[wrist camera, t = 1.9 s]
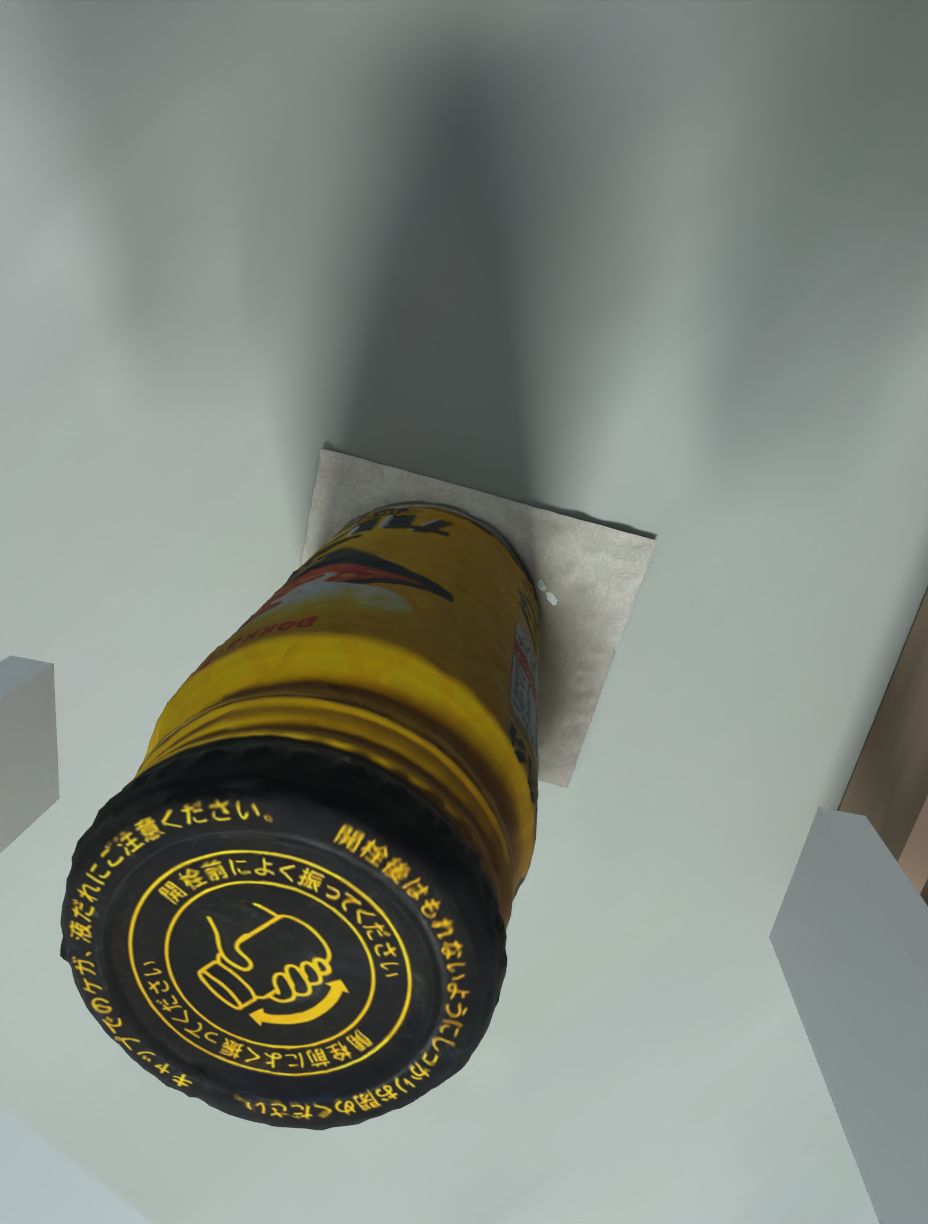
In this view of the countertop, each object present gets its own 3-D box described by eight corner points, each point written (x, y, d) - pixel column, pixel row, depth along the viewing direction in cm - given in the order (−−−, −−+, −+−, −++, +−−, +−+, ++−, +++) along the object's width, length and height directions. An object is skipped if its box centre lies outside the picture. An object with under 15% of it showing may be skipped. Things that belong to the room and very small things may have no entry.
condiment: (323, 446, 18) (-21, 626, 7) (656, 538, 18) (845, 864, 7) (276, 701, 21) (-29, 1128, 10) (567, 781, 21) (601, 1299, 10)
